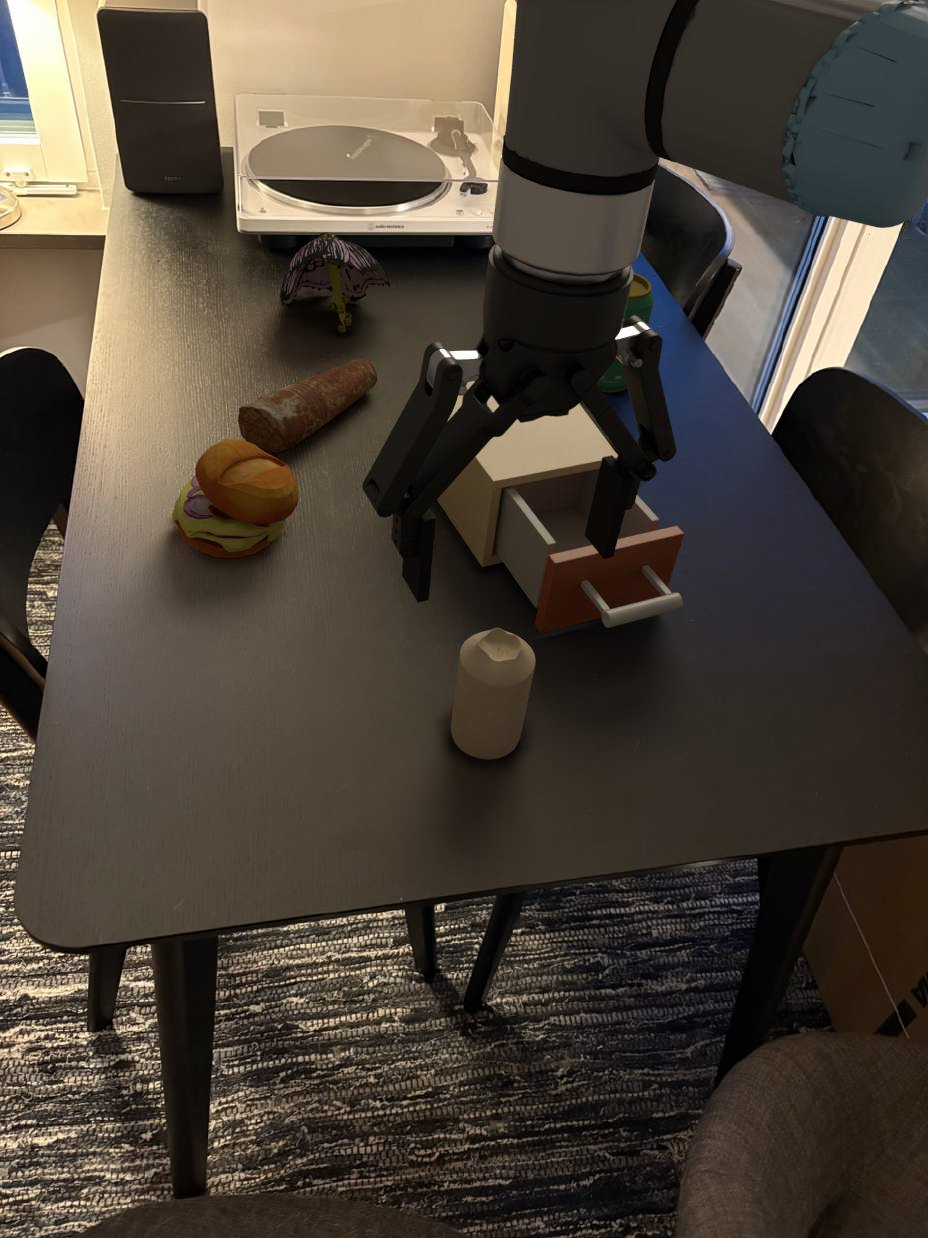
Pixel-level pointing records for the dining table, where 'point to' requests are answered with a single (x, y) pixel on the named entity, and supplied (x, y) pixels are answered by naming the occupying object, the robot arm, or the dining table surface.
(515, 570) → the drawer
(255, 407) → the brown sausage
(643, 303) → the beverage can
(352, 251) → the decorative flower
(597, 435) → the small drawer cabinet
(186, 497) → the cheeseburger
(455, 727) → the candle
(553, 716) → the dining table surface
